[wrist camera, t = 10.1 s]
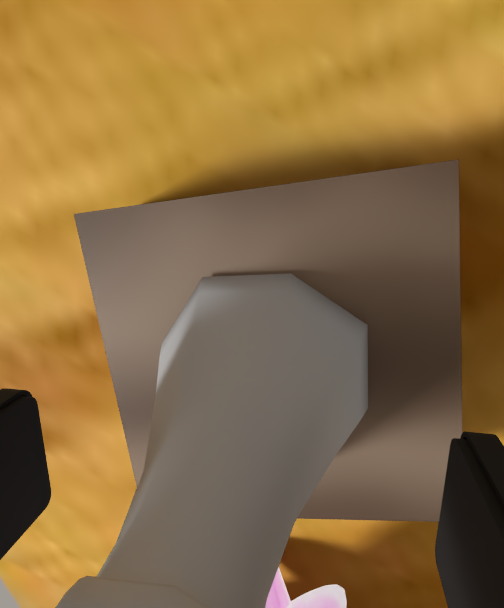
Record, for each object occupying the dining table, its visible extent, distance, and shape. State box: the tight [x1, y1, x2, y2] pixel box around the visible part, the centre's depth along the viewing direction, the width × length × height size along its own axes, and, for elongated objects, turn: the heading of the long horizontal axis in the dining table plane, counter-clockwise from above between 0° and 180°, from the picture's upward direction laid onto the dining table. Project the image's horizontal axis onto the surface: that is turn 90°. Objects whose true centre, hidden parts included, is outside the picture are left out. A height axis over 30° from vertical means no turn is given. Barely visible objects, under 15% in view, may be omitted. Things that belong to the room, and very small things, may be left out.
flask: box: [56, 273, 368, 608], centre depth 10 cm, size 7×7×10 cm
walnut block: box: [74, 160, 462, 522], centre depth 17 cm, size 12×12×5 cm
